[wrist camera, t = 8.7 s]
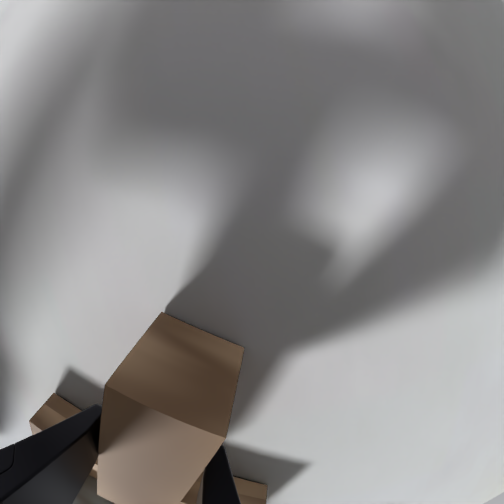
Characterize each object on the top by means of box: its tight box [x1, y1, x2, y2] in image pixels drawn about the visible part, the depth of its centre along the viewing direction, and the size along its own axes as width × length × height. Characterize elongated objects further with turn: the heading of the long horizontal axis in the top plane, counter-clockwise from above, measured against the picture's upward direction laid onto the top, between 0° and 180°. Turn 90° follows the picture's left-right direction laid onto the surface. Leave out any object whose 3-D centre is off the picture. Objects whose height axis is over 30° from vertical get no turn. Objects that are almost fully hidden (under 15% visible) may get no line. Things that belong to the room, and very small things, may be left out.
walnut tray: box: [29, 312, 267, 504], centre depth 10 cm, size 12×20×6 cm, turn 157°
